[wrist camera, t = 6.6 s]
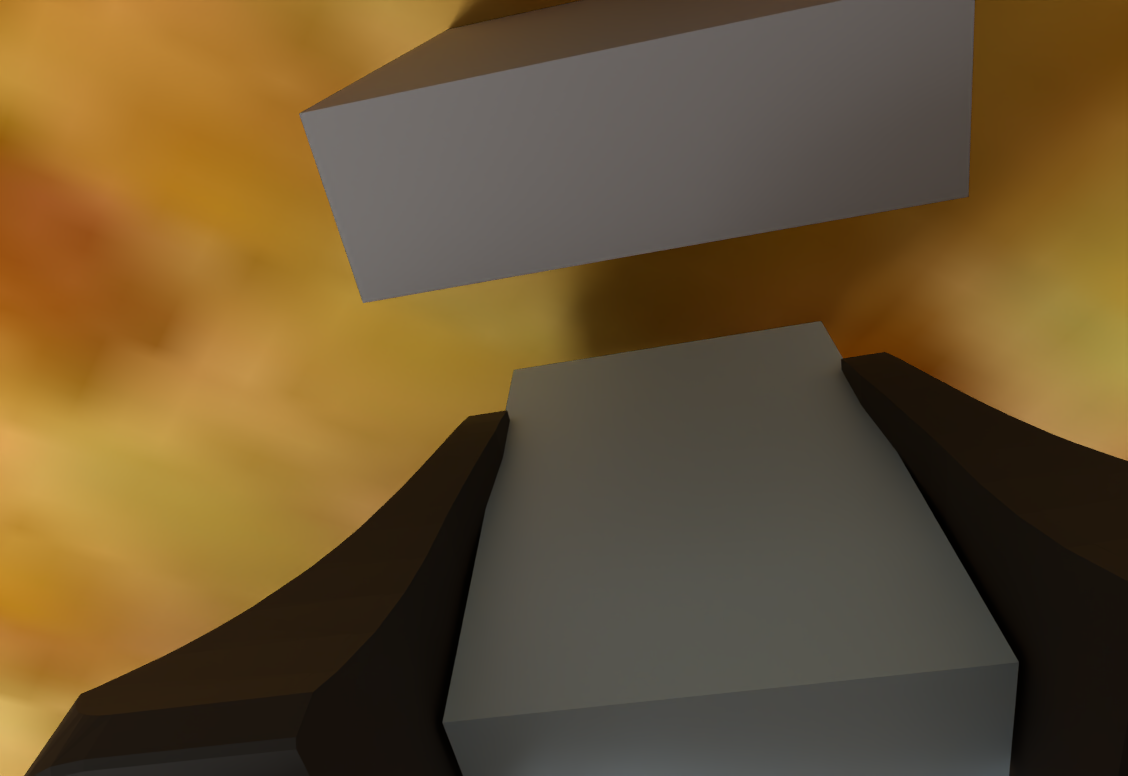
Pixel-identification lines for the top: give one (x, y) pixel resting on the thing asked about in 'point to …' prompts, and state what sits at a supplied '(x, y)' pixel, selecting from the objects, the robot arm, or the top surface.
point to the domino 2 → (718, 582)
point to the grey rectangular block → (640, 132)
